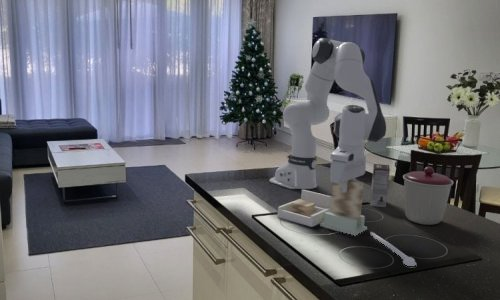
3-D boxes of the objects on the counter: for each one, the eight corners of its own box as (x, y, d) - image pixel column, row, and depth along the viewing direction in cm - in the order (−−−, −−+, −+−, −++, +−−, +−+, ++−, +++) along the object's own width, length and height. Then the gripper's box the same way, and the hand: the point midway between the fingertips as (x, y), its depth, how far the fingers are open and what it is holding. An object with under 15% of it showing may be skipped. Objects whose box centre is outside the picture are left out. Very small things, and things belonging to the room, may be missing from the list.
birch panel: (330, 215, 184) (333, 177, 181) (332, 214, 185) (335, 177, 183) (357, 222, 177) (361, 183, 175) (360, 221, 179) (363, 182, 176)
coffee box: (369, 199, 219) (373, 163, 216) (385, 201, 218) (388, 164, 215) (370, 205, 210) (374, 168, 207) (386, 207, 209) (390, 169, 206)
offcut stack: (290, 218, 190) (291, 202, 189) (299, 214, 195) (300, 199, 193) (306, 223, 186) (307, 207, 184) (315, 219, 190) (316, 203, 189)
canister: (388, 215, 199) (394, 162, 195) (424, 211, 206) (430, 160, 202) (420, 231, 183) (427, 174, 179) (458, 226, 190) (466, 171, 186)
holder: (320, 226, 183) (321, 212, 182) (332, 220, 190) (333, 207, 189) (355, 236, 174) (356, 222, 173) (367, 229, 181) (368, 216, 180)
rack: (277, 217, 190) (278, 196, 189) (299, 208, 202) (300, 188, 200) (311, 227, 181) (313, 205, 180) (332, 217, 193) (334, 197, 191)
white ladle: (362, 235, 177) (363, 227, 176) (373, 234, 178) (373, 226, 177) (406, 269, 151) (407, 260, 150) (418, 268, 152) (419, 259, 151)
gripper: (355, 147, 187) (352, 184, 189) (328, 155, 171) (324, 194, 173) (371, 150, 183) (368, 187, 186) (344, 158, 167) (341, 198, 170)
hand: (347, 191), depth 179 cm, fingers closed on birch panel, 2 cm apart
